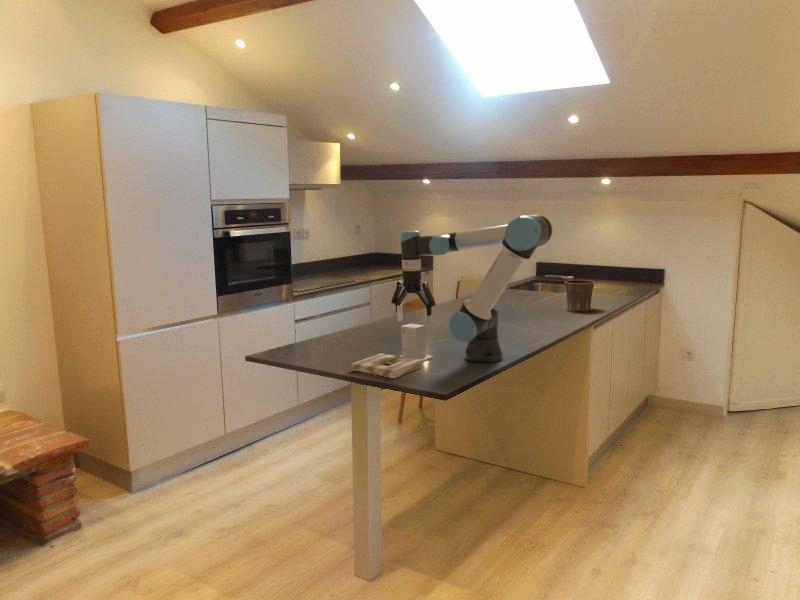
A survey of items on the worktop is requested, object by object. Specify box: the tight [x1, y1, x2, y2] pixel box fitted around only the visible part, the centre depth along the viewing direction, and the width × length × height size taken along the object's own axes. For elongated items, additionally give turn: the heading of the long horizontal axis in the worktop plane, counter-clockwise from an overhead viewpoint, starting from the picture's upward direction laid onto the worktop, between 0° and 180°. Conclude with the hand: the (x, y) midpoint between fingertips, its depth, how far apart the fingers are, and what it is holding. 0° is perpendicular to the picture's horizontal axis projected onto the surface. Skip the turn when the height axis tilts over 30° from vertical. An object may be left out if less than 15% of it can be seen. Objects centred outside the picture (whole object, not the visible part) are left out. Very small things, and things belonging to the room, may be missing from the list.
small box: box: [400, 323, 427, 359], centre depth 254 cm, size 8×6×13 cm
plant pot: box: [564, 279, 596, 313], centre depth 347 cm, size 16×16×16 cm
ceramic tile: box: [400, 354, 434, 363], centre depth 255 cm, size 12×10×1 cm
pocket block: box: [351, 352, 423, 379], centre depth 241 cm, size 20×18×3 cm
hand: (413, 322), depth 253 cm, fingers open, 13 cm apart
